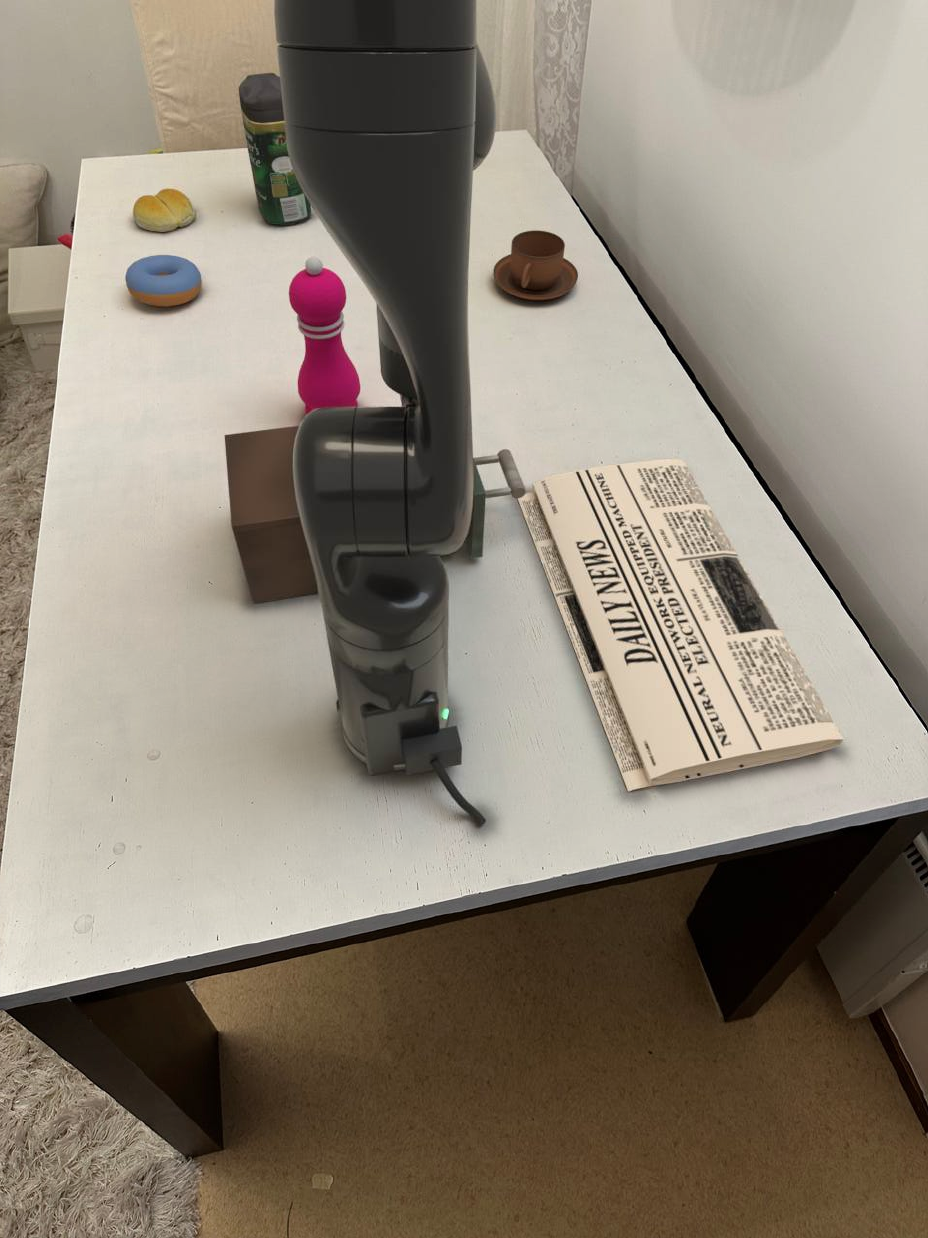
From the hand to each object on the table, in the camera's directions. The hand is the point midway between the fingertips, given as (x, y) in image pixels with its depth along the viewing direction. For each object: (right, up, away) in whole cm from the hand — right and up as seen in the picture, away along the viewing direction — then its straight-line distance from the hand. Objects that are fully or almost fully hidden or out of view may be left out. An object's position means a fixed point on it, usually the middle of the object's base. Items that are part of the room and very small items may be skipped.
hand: (425, 479), depth 84 cm
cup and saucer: (+14, +34, +37) cm, 52 cm away
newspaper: (+23, -13, 0) cm, 27 cm away
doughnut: (-37, +31, +33) cm, 59 cm away
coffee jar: (-24, +50, +49) cm, 74 cm away
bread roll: (-42, +48, +46) cm, 79 cm away
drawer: (0, -4, +5) cm, 6 cm away
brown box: (-11, -6, +4) cm, 13 cm away
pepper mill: (-12, +10, +17) cm, 23 cm away
